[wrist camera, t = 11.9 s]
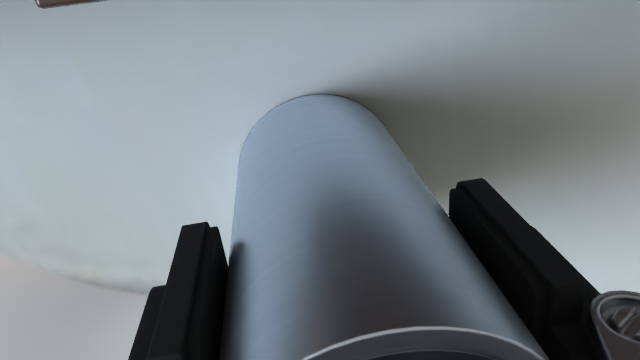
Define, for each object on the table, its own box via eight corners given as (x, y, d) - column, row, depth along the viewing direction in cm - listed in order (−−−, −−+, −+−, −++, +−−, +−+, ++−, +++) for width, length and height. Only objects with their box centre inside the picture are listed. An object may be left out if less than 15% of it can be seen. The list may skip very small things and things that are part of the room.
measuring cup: (223, 106, 14) (161, 374, 5) (392, 82, 15) (606, 298, 6) (260, 277, 17) (260, 637, 8) (399, 254, 17) (547, 578, 8)
